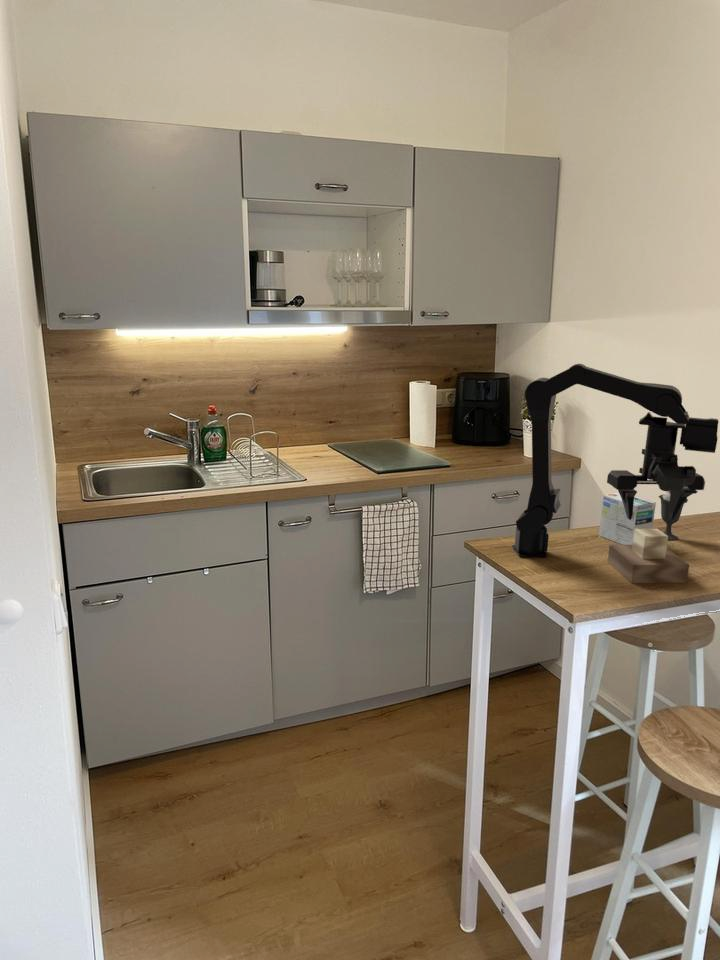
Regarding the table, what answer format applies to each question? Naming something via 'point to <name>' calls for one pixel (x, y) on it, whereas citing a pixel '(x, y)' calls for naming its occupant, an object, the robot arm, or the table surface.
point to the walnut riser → (647, 566)
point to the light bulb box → (624, 518)
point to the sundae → (665, 514)
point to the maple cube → (649, 543)
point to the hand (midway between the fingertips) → (650, 519)
